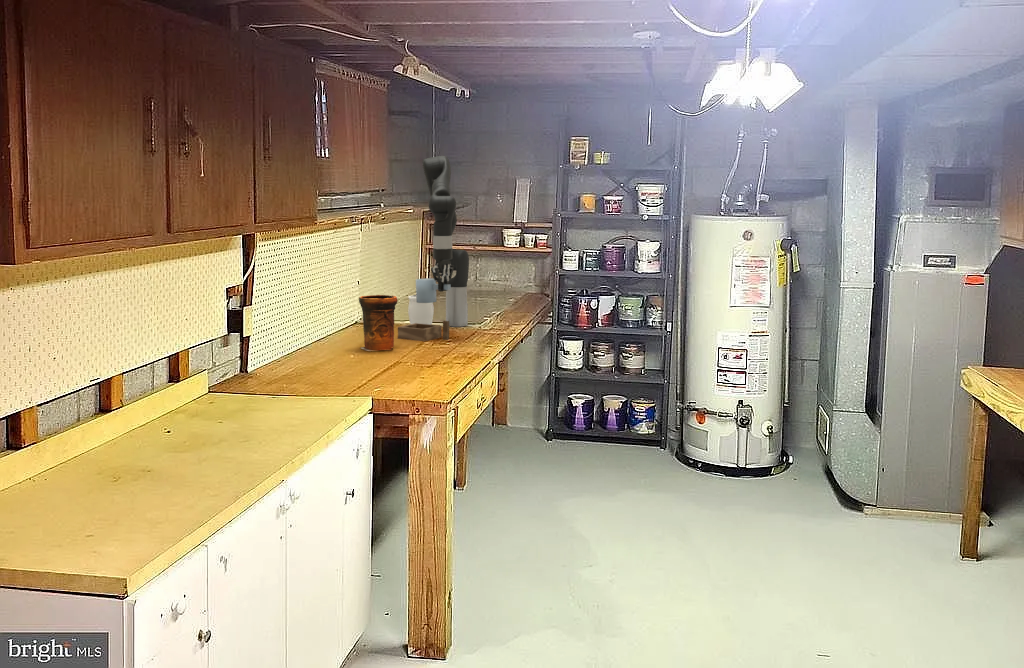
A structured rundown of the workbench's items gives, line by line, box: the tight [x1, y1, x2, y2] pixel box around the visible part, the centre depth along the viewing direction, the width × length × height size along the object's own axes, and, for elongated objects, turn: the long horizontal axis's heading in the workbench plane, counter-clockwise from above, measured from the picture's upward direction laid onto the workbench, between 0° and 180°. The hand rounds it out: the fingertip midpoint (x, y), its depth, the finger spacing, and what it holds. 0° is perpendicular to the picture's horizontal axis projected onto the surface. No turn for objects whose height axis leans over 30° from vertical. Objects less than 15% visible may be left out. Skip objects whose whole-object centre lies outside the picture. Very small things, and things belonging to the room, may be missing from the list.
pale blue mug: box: [415, 277, 451, 304], centre depth 394 cm, size 15×8×9 cm, turn 60°
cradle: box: [396, 320, 450, 342], centre depth 394 cm, size 14×19×8 cm
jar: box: [407, 294, 435, 325], centre depth 415 cm, size 11×10×15 cm
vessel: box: [358, 294, 398, 352], centre depth 372 cm, size 14×14×20 cm
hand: (442, 290), depth 392 cm, fingers closed on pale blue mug
